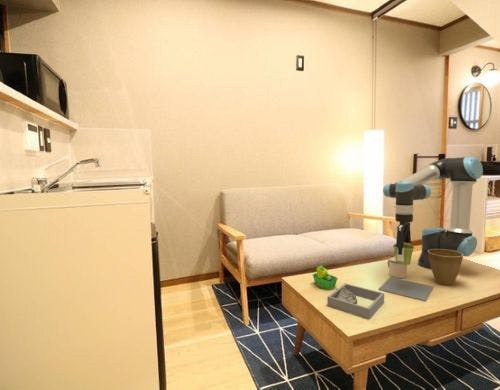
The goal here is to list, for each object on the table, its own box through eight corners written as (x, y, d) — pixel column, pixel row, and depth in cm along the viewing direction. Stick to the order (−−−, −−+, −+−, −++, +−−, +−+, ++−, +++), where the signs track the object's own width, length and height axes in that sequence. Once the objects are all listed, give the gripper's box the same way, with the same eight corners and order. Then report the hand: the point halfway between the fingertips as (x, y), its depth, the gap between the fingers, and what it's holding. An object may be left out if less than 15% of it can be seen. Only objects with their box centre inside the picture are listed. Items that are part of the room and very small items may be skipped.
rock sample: (327, 294, 126) (341, 281, 126) (331, 299, 131) (345, 287, 132) (344, 312, 118) (359, 298, 119) (348, 317, 124) (362, 303, 124)
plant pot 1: (418, 264, 136) (419, 247, 135) (404, 267, 133) (404, 249, 132) (402, 259, 145) (402, 242, 144) (388, 261, 142) (388, 245, 141)
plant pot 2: (460, 280, 147) (462, 250, 146) (462, 290, 135) (464, 258, 134) (427, 275, 156) (428, 247, 154) (426, 284, 143) (427, 253, 142)
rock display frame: (345, 291, 138) (345, 283, 137) (384, 301, 126) (384, 293, 125) (327, 305, 124) (327, 296, 123) (369, 319, 112) (369, 309, 111)
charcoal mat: (390, 277, 153) (390, 276, 153) (433, 287, 140) (433, 286, 140) (378, 289, 138) (378, 288, 138) (425, 301, 125) (425, 300, 125)
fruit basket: (338, 287, 142) (338, 266, 141) (326, 292, 138) (326, 269, 137) (322, 280, 152) (322, 260, 151) (309, 284, 147) (309, 263, 146)
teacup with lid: (411, 277, 153) (411, 256, 152) (398, 279, 151) (398, 258, 150) (393, 270, 165) (394, 250, 164) (381, 272, 162) (381, 252, 161)
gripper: (401, 209, 147) (401, 251, 149) (388, 215, 131) (388, 262, 133) (418, 211, 142) (417, 254, 144) (406, 217, 126) (405, 265, 128)
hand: (403, 258), depth 139 cm, fingers closed on plant pot 1, 9 cm apart
